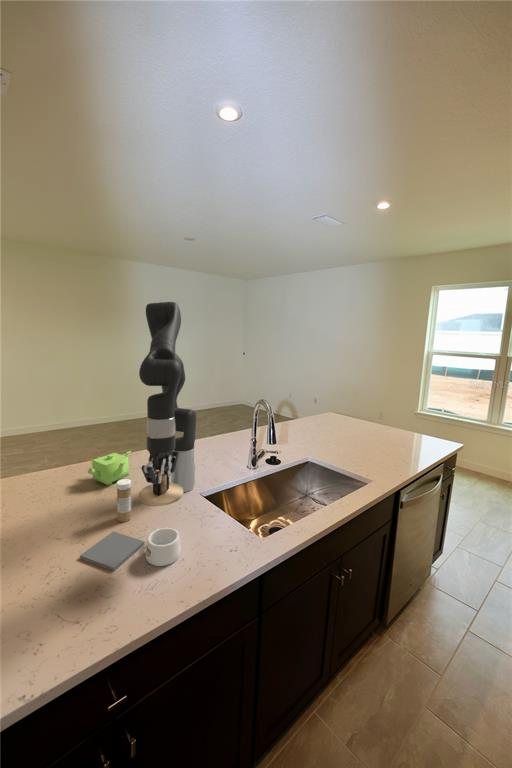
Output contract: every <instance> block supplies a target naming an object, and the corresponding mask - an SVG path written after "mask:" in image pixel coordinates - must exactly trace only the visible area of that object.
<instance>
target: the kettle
mask: <svg viewBox="0 0 512 768" xmlns="http://www.w3.org/2000/svg"><path fill="white" fill-rule="evenodd" d="M131 453H132V450H130V451H127V452H126V453H125V454H124V455H123V454H119V453H117V452H113V453H109V454H107V455H104V456H97V458H94V459H92V460H91V464H92V465H91V466H92V468H88V471H87V473H88V474H90V475H92V480H95V481H97V482H99V483H102V484H104V485H105V486H112V485H113V482H117V481H119V480H121V479H125V478H126V477H128V476H129V475H130V474H129V473H130V472H129V471H130V470H129V455H130V454H131Z"/></svg>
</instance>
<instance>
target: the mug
mask: <svg viewBox="0 0 512 768" xmlns="http://www.w3.org/2000/svg"><path fill="white" fill-rule="evenodd" d="M146 541H147V542H146V547H145V548H146V549H145V550H146V551H145V559H146V561H147V563H149V565H152V566H154V567H165V566H169V565H172V564H173V563H175V562H176V561H177V560H178V559H179V557H180V556H181V551H182V549H181V539H180V533H179V531H178V530H176V529H174V528H170V527H163V528H158V529H153V531H152V532H150V534H149V535H148V536H147V540H146Z"/></svg>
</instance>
